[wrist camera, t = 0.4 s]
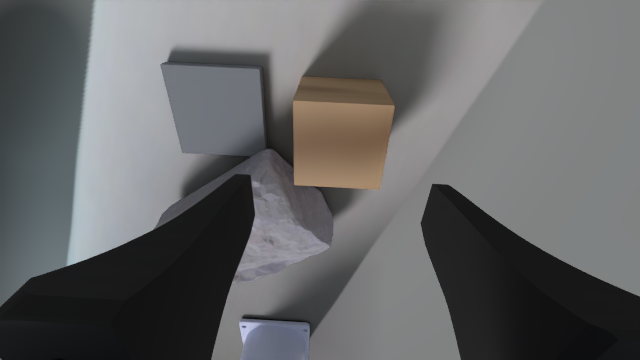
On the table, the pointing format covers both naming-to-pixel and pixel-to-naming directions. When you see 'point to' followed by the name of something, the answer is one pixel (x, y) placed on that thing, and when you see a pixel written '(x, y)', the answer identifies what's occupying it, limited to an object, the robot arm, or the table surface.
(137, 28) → the table surface
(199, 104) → the charcoal pad
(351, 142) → the tan cube
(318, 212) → the stone block
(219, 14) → the table surface
